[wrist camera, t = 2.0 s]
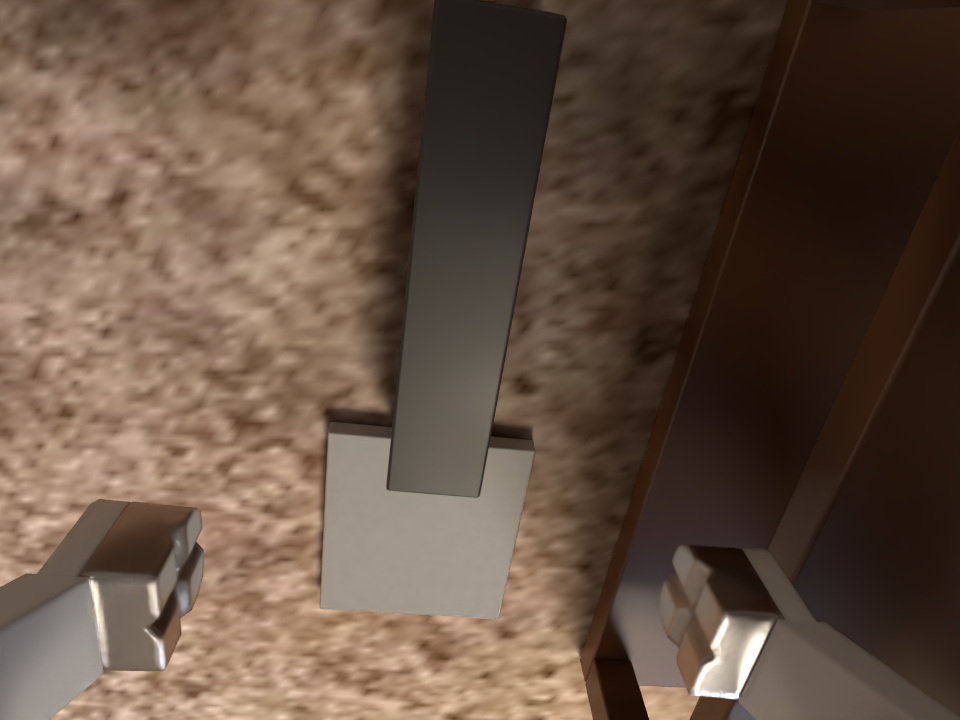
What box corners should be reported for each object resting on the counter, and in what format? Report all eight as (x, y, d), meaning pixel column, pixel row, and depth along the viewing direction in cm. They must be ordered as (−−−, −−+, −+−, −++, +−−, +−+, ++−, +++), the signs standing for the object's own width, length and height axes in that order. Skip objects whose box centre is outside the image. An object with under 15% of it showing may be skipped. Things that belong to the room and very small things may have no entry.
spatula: (352, -14, 14) (330, -26, 11) (622, 32, 14) (664, 31, 12) (322, 595, 22) (305, 674, 19) (496, 605, 22) (504, 683, 20)
